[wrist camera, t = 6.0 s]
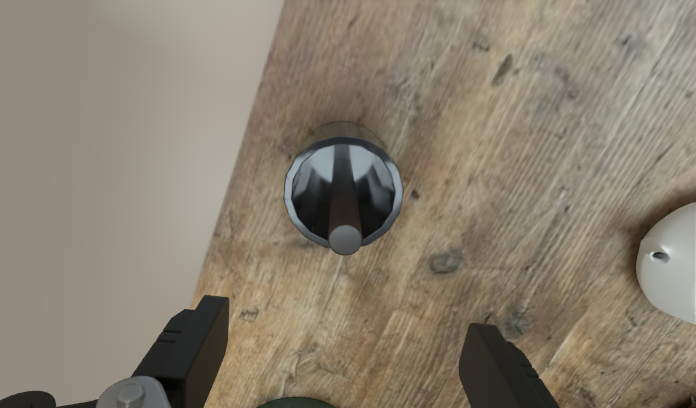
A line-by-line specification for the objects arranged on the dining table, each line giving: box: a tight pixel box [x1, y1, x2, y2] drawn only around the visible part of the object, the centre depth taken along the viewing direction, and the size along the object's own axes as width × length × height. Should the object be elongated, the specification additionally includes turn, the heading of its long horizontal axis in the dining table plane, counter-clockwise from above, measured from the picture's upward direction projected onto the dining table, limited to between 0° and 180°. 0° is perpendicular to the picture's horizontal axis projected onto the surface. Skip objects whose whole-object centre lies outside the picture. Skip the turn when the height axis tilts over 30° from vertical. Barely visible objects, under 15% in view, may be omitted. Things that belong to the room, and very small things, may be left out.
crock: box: [283, 121, 404, 248], centre depth 32 cm, size 8×8×9 cm
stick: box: [328, 159, 363, 255], centre depth 27 cm, size 2×2×16 cm
